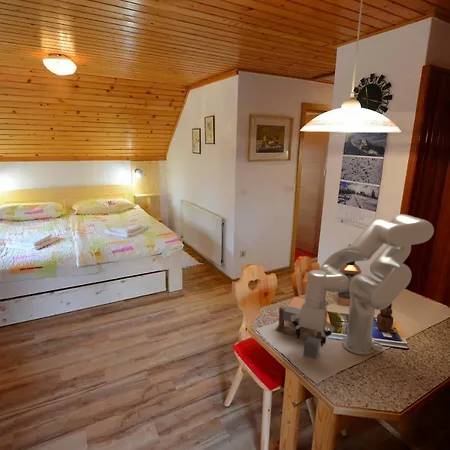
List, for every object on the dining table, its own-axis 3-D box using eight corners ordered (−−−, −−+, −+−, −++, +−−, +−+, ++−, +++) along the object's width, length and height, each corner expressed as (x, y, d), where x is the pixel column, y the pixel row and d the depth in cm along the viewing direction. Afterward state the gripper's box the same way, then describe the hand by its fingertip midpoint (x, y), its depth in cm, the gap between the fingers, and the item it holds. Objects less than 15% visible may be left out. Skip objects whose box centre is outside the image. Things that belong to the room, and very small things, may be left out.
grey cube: (319, 351, 133) (320, 339, 132) (316, 359, 128) (317, 347, 126) (307, 347, 135) (308, 336, 134) (303, 355, 130) (304, 343, 129)
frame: (324, 338, 141) (326, 315, 139) (322, 343, 138) (324, 320, 135) (278, 325, 151) (279, 304, 148) (275, 330, 147) (276, 308, 145)
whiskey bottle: (337, 304, 170) (343, 247, 162) (335, 296, 180) (340, 241, 172) (358, 307, 168) (365, 248, 160) (355, 298, 178) (361, 242, 170)
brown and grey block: (323, 308, 151) (324, 299, 150) (314, 328, 135) (314, 318, 134) (294, 301, 158) (294, 293, 156) (281, 319, 142) (282, 310, 141)
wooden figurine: (391, 327, 149) (395, 298, 146) (392, 334, 144) (396, 304, 141) (375, 324, 152) (379, 295, 148) (375, 330, 147) (379, 300, 143)
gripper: (339, 303, 125) (333, 342, 129) (295, 292, 133) (291, 329, 137) (336, 311, 119) (330, 352, 123) (290, 299, 126) (286, 338, 130)
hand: (310, 340), depth 130 cm, fingers open, 9 cm apart
